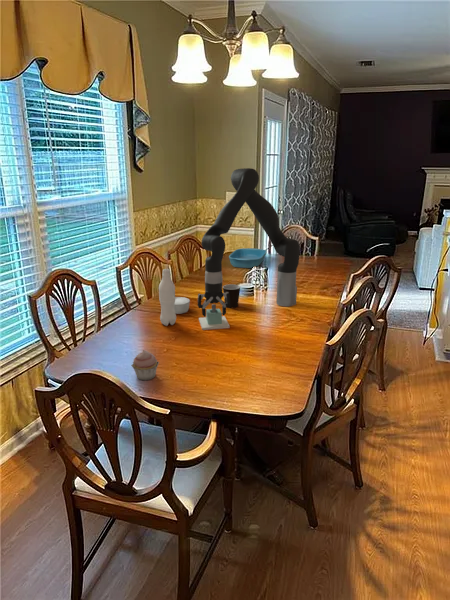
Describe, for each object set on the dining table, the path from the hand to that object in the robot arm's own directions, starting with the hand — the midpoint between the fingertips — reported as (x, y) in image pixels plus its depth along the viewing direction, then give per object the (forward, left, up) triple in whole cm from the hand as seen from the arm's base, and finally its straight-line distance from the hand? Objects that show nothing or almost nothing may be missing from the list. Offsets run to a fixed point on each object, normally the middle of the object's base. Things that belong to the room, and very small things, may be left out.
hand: (214, 315), depth 199 cm
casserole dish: (-41, -104, -5) cm, 112 cm away
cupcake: (+31, +43, -4) cm, 53 cm away
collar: (0, 0, -3) cm, 3 cm away
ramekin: (+14, -20, -4) cm, 25 cm away
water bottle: (+20, -4, -4) cm, 21 cm away
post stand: (0, 0, -4) cm, 4 cm away
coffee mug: (-13, -23, -4) cm, 27 cm away
